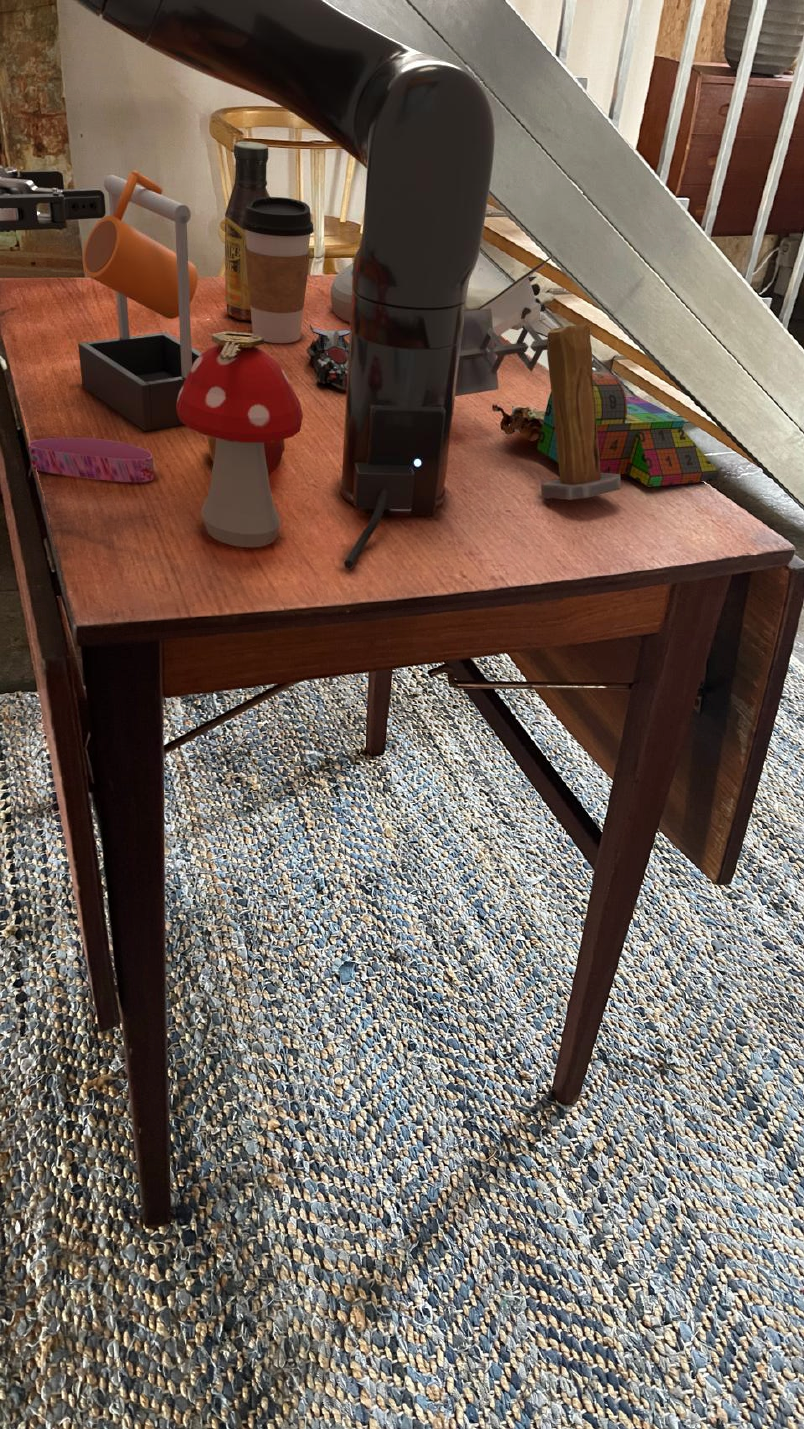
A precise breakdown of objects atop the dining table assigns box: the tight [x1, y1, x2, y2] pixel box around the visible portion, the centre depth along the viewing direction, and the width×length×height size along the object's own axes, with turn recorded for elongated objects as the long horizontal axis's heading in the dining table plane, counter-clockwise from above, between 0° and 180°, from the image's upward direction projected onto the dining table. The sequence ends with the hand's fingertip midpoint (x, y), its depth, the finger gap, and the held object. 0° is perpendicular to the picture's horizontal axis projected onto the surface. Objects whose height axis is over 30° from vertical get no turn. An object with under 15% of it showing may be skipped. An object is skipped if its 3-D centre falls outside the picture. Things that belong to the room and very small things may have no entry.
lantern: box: [455, 308, 622, 501], centre depth 100 cm, size 8×17×30 cm
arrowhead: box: [465, 287, 555, 311], centre depth 143 cm, size 12×4×25 cm
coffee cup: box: [242, 196, 315, 344], centre depth 122 cm, size 8×8×15 cm
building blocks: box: [536, 371, 720, 487], centre depth 98 cm, size 15×10×8 cm
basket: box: [77, 174, 203, 432], centre depth 100 cm, size 14×10×20 cm
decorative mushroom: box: [176, 344, 304, 548], centre depth 78 cm, size 10×9×15 cm
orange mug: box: [82, 170, 199, 320], centre depth 97 cm, size 10×6×9 cm
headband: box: [28, 437, 155, 483], centre depth 90 cm, size 11×4×2 cm, turn 85°
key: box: [210, 330, 265, 360], centre depth 72 cm, size 4×8×1 cm, turn 2°
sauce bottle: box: [224, 141, 271, 322], centre depth 127 cm, size 7×6×20 cm
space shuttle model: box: [477, 254, 558, 339], centre depth 128 cm, size 16×25×10 cm
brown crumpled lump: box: [491, 403, 546, 442], centre depth 104 cm, size 7×12×6 cm, turn 156°
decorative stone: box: [330, 262, 353, 323], centre depth 136 cm, size 18×18×5 cm
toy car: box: [305, 323, 350, 391], centre depth 115 cm, size 6×12×4 cm, turn 11°
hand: (82, 193), depth 91 cm, fingers open, 8 cm apart
